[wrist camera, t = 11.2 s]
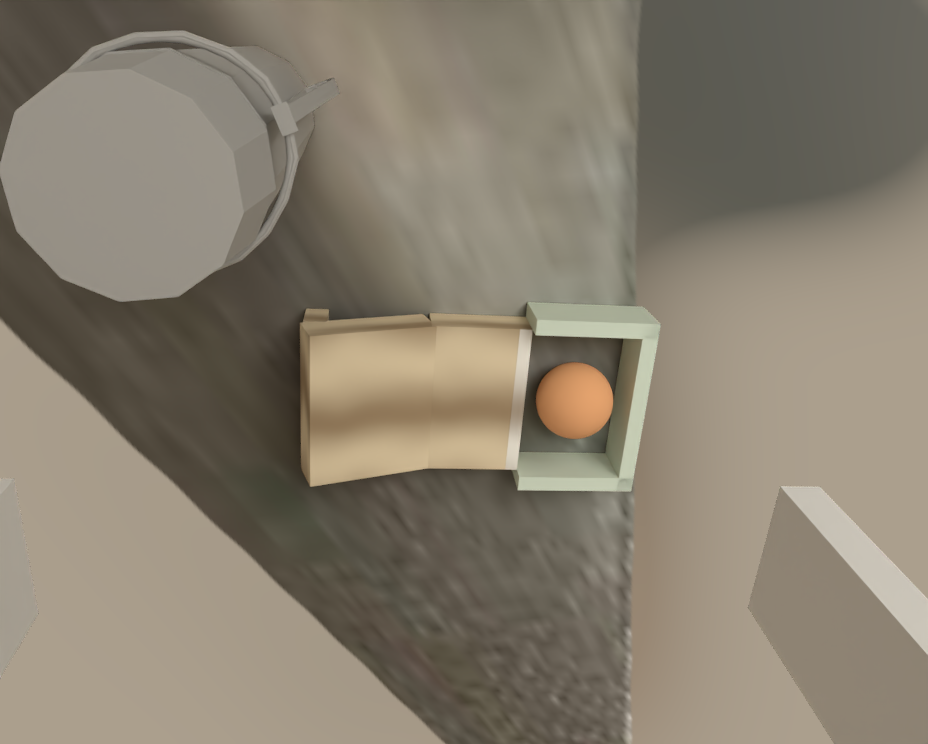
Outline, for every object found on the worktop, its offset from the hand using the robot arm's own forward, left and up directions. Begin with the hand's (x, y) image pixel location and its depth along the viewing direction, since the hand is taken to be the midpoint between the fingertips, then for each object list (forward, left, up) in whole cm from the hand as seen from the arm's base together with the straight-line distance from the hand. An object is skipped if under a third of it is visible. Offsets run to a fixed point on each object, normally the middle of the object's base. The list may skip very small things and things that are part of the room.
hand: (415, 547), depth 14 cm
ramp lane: (+13, +2, -36) cm, 39 cm away
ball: (+13, +11, -36) cm, 40 cm away
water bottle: (-4, -7, -37) cm, 37 cm away
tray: (+13, +13, -36) cm, 41 cm away
